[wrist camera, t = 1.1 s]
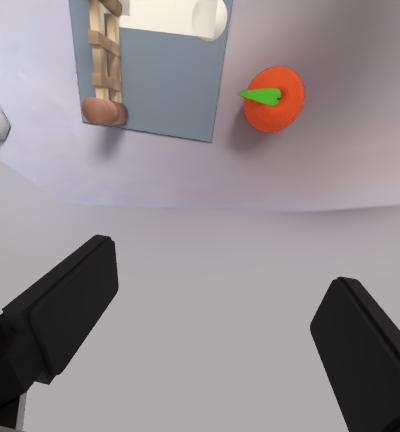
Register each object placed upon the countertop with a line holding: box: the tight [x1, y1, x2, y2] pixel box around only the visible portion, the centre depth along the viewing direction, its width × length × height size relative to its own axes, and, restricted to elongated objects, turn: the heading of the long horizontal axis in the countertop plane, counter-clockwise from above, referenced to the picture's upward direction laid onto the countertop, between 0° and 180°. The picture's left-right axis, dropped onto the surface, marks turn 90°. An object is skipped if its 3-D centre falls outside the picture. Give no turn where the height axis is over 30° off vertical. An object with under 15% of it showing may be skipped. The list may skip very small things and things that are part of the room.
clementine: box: [237, 66, 305, 132], centre depth 24 cm, size 8×7×7 cm
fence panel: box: [82, 0, 128, 124], centre depth 25 cm, size 12×3×6 cm, turn 172°
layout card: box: [69, 0, 233, 142], centre depth 25 cm, size 28×21×1 cm
